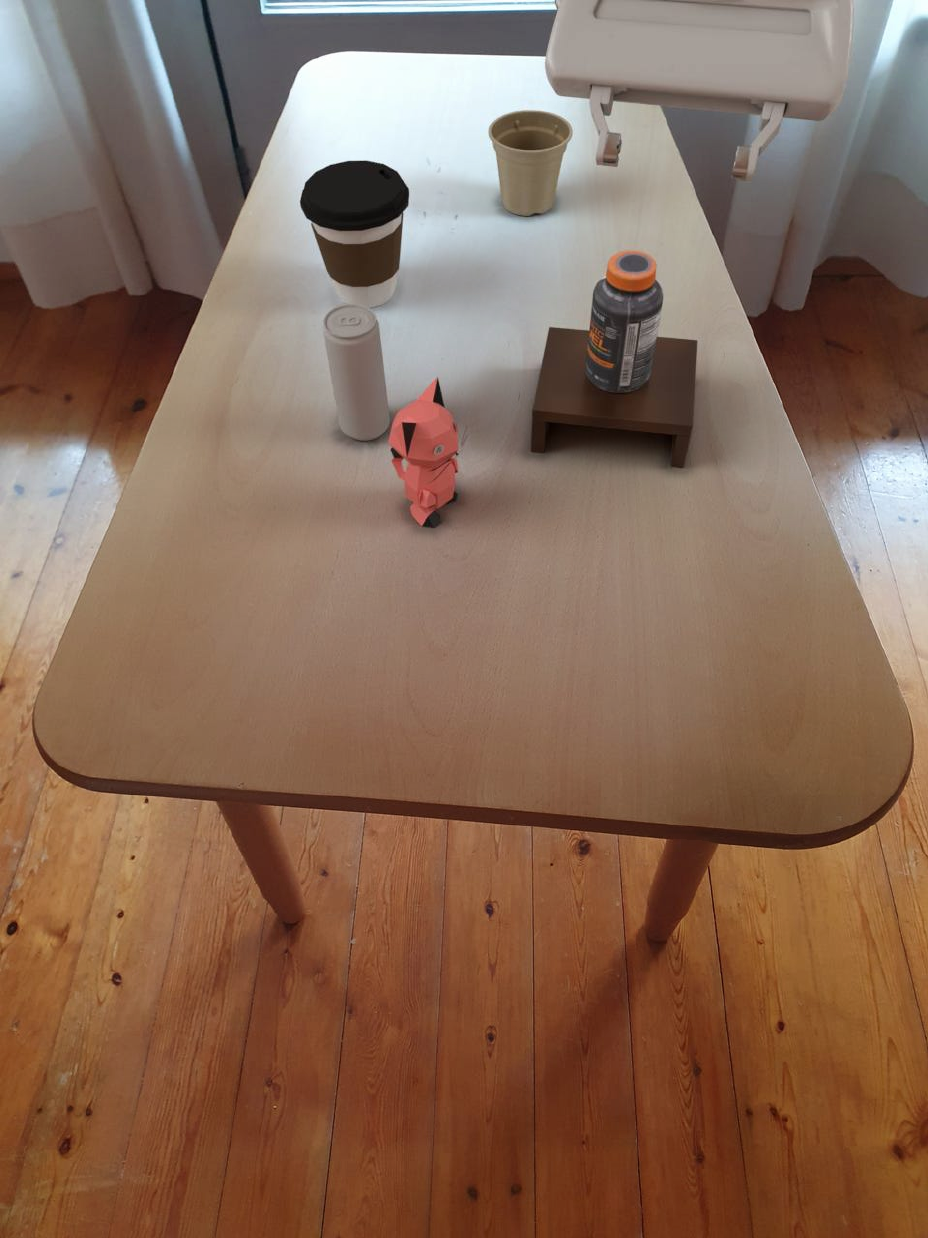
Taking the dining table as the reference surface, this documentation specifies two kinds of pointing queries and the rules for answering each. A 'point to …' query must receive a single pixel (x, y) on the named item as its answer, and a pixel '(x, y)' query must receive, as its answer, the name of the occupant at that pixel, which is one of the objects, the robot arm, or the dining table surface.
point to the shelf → (644, 409)
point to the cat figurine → (426, 454)
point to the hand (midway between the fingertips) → (673, 170)
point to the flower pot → (529, 158)
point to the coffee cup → (358, 227)
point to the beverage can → (357, 371)
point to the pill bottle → (624, 323)
